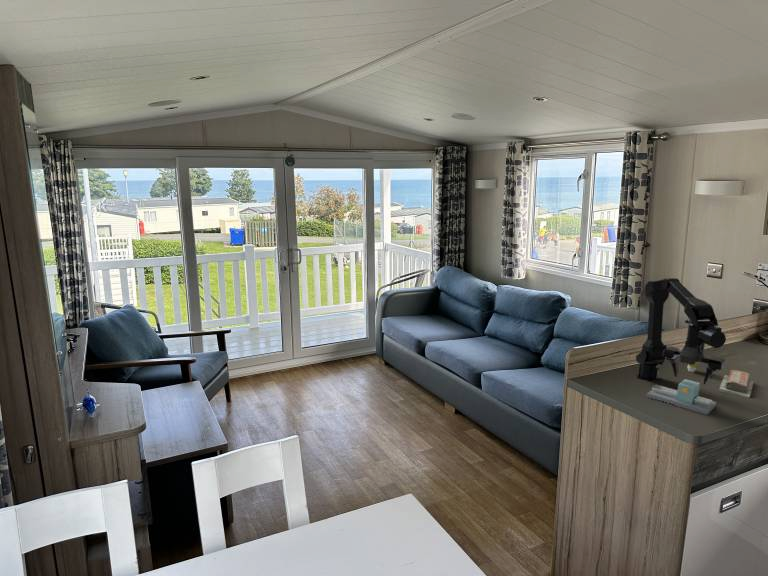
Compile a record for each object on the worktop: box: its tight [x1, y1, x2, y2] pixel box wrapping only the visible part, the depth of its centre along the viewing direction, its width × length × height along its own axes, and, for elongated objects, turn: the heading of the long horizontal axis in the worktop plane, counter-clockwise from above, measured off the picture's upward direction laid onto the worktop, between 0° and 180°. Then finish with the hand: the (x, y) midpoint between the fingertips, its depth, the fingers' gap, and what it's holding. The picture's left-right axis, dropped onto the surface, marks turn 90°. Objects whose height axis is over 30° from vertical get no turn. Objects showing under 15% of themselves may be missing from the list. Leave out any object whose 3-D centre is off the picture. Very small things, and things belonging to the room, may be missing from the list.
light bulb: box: [686, 362, 701, 373], centre depth 223 cm, size 7×7×10 cm
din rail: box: [651, 384, 714, 407], centre depth 194 cm, size 19×4×2 cm, turn 44°
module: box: [676, 378, 701, 404], centre depth 192 cm, size 5×8×6 cm, turn 135°
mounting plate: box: [646, 389, 717, 415], centre depth 194 cm, size 20×10×2 cm, turn 44°
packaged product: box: [719, 369, 754, 399], centre depth 208 cm, size 18×5×10 cm
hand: (690, 380), depth 191 cm, fingers open, 9 cm apart
